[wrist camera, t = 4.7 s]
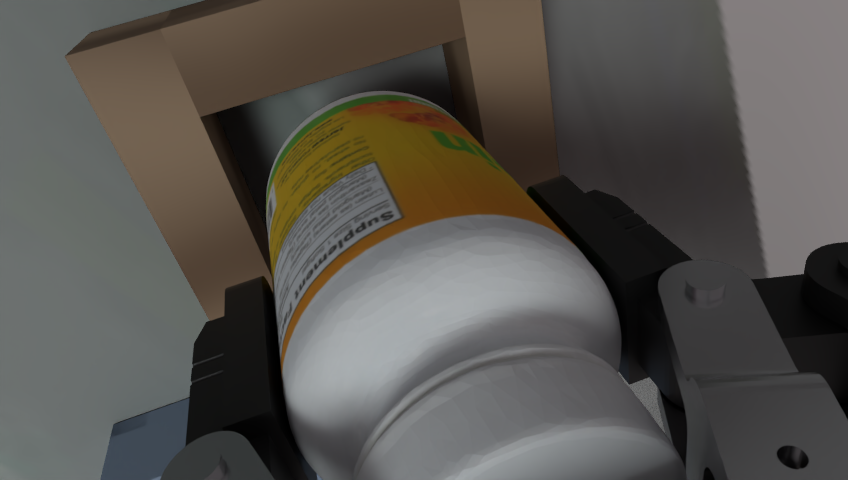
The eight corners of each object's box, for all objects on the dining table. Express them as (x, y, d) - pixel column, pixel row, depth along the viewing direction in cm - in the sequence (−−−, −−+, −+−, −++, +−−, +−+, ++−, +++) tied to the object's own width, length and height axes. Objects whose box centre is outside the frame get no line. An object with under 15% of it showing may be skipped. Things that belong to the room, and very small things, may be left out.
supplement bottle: (516, 183, 16) (805, 492, 8) (373, 314, 17) (500, 709, 9) (379, 34, 13) (613, 279, 5) (214, 202, 14) (189, 638, 6)
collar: (89, 32, 14) (64, 56, 12) (493, -81, 16) (533, -78, 13) (250, 345, 20) (252, 398, 18) (538, 245, 21) (571, 284, 19)
